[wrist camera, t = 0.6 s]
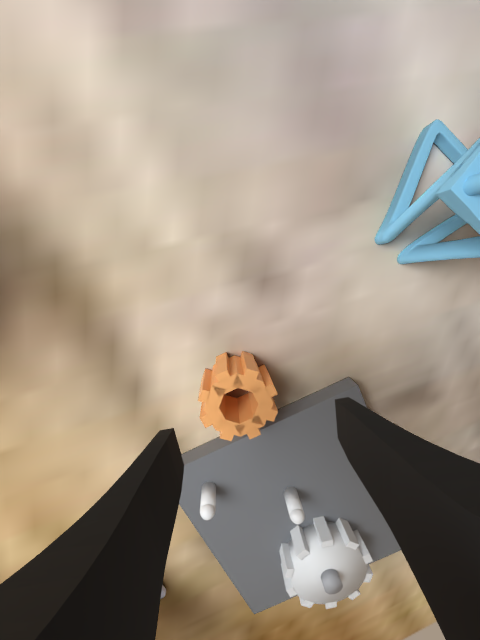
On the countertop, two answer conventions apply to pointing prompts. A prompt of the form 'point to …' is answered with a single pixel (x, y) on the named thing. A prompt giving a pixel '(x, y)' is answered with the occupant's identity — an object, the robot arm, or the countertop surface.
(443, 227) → the chair
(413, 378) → the countertop surface
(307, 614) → the countertop surface
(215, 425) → the orange gear
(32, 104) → the countertop surface
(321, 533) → the gear board
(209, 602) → the countertop surface
